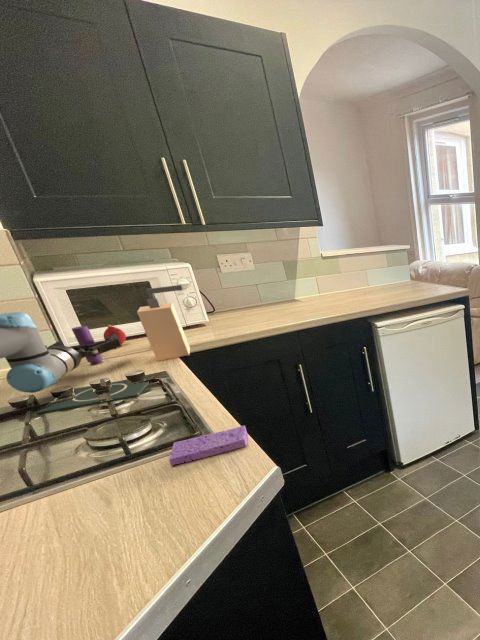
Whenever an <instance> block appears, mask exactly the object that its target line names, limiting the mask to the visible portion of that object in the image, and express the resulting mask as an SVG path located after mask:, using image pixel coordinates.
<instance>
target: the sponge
mask: <svg viewBox="0 0 480 640" xmlns="http://www.w3.org/2000/svg"><path fill="white" fill-rule="evenodd" d="M246 433H247V435H246ZM247 443H248V431H247V428H246V425H240V426H237V427H233V428H230V429H227V430H223V431H217V432H213V433H209V434H203V435H199V436H196V437H192V438H188V439H183V440H179V441H174V442H173V444H172V448H171V453H170V455H169V458H168V461H169V464H170V466H171V465H175V464H179V463H182V464H185V463H184V462H186V463H189V462H188V461H190V462H193V461H192V460H194V461H197V460H200V459H204V458H205V459H206V458H209V457H211V456H216V455H220V454H222V453H225V452H230V451H233V450H236V449H240V448H244V447H247ZM196 459H197V460H196ZM179 465H180V464H179ZM175 466H176V465H175Z"/></svg>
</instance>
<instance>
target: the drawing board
mask: <svg viewBox="0 0 480 640" xmlns="http://www.w3.org/2000/svg"><path fill="white" fill-rule="evenodd" d="M149 376H151V377H153V376H155V375H147V376H146V377H149ZM127 380H128V379H124V380H118V381H113V382H112V381H111V382H110V383H112V387H111V391H110V395H111V398H112V399H113V400H115V401H121V400H127V399H133V398H138V397H139V396H140V395H141V394H142V393H143V392H144V391H145V389H146V388H147V387H148V386H149V385H150V384H151V382H150V383H149V381H148V382H142V383H136V384H129V383H128V381H127ZM92 386H93V385H88V386H82V387H76V388H73V389H74V393H75V395H77V396H76V397H75V398H73V399H71V400H67V401H64V402H60V403H56V404H54V405H51V406H49V407H47V408H45V409H42V408H41V409H42V410H40V409H39V410H40V411H39V410H37V411H36V415H37V414H38V415H43V414H49V413H56V412H60V411H65V410H72V409H77V408H82V407H88V406H93V405H99V404H101V403H100V402H101V401H99V400H98V399H99V395H98V394H96V393H94V392H93V388H92ZM51 401H54V398H53V399H52V400H51ZM115 401H114V402H115Z"/></svg>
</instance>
